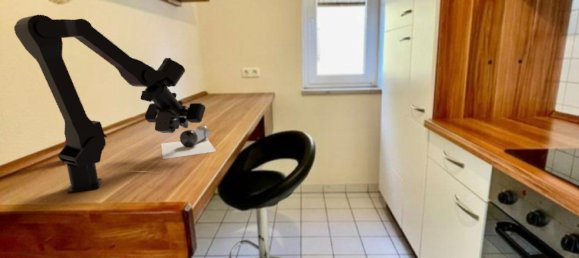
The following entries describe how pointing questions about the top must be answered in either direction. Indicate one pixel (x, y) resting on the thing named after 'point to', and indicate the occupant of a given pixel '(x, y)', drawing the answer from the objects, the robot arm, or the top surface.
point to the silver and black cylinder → (194, 136)
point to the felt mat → (185, 149)
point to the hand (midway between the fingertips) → (186, 126)
